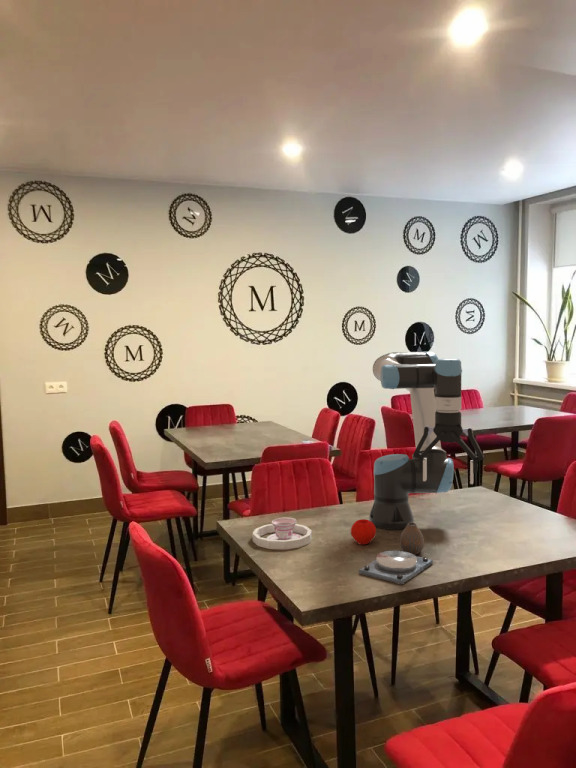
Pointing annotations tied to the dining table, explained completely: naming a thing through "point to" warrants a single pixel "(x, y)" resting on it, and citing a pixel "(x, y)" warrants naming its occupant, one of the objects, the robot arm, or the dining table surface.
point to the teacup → (284, 529)
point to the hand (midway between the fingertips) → (448, 481)
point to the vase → (411, 539)
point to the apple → (363, 531)
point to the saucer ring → (282, 543)
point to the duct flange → (395, 566)
